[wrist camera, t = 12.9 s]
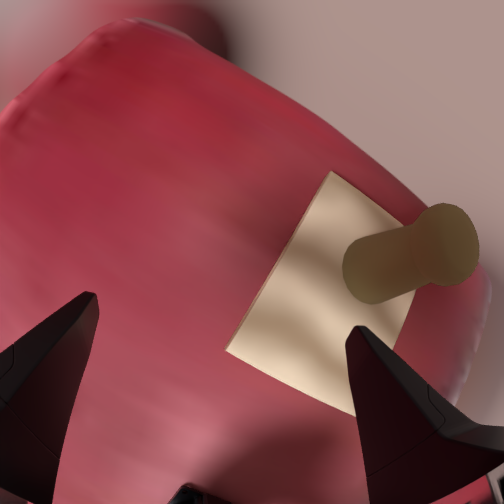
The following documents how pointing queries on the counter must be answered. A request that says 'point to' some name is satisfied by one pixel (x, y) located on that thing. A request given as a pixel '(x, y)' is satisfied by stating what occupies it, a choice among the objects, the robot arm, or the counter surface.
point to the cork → (412, 256)
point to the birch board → (318, 299)
